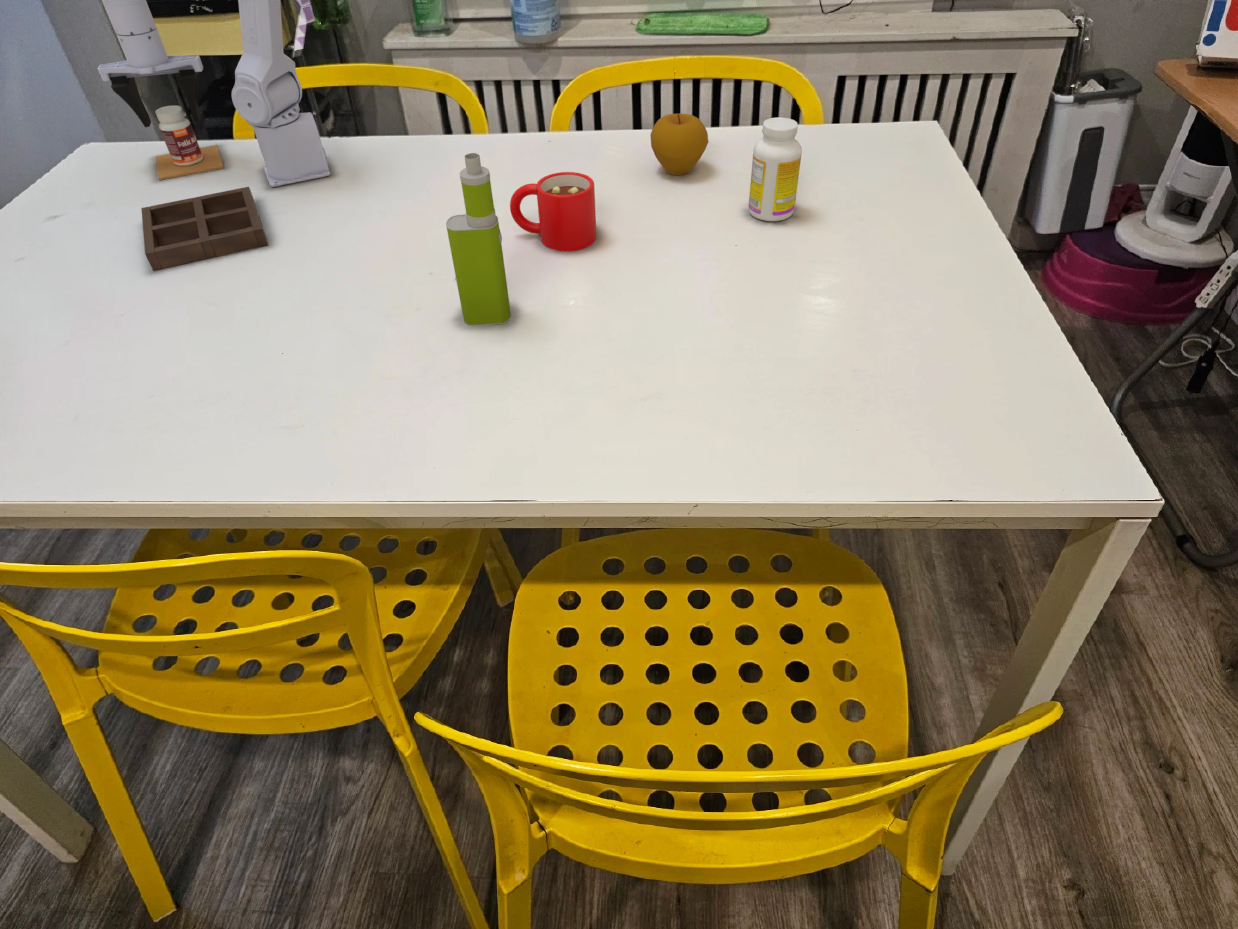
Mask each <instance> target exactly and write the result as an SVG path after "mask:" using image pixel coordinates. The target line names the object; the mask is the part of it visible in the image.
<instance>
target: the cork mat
mask: <svg viewBox="0 0 1238 929" xmlns="http://www.w3.org/2000/svg"><path fill="white" fill-rule="evenodd" d="M200 150H201V153H202V155H203V159H202V161H200V162H198V163H196V164H193V165H189V166H179V165H176V164H174V162H173V160H172V158H171V155H170V153H166V154H161V155H156V156H155V161H156V169H157V177H158V180H159V181H165V180H171V179H175V178H180V177H184V176H190V175H195V174H200V173H207V172H210V171H216V170H222V169H224V168H225V167H224V163H223V160H222V157H221V153H220V152H221V151H220V149H219V145H218V144H215V145H210V146H203V147H200Z"/></svg>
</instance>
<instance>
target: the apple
mask: <svg viewBox="0 0 1238 929" xmlns="http://www.w3.org/2000/svg"><path fill="white" fill-rule="evenodd" d="M649 136H650V146H651V149H652V151H653V154H654V156H655V158H656V160H657V161H658V163H659V164H660V166H661V167H662V168H663V170H664V171H665V172H666V173H667V174H670V175H673V176H684V175H686V174H688V173H690V172H691V171H692V170H693V168H694V167H695V166H696V165H697V163H698V162H699V161H700V159H701V158H702V156H703V155H704V152H706V149H707V147H708V143H709V134H708V131H707V128H706V126H705V124H704V123H703V122H702V121H701V119H699V118H698V117H697V116H695V115H692V114H689V113H669V114H665V115H663V116H661V117H660V118H659V119H658V120H657V121H656V123H655V124H654V125H653V127H652V129H651V132H650V135H649Z"/></svg>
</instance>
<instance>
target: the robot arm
mask: <svg viewBox="0 0 1238 929" xmlns="http://www.w3.org/2000/svg"><path fill="white" fill-rule="evenodd" d="M237 2H238V11H239V22H240V23H239V24H240V32H241V34H240V35H241V42H242V43H241V44H242V54H241V57H240V59H239V61H238V63H237V66H236V68H235V70H234V79H235V81H234V85H233V88H232V89H231V100H232V105H233V107H234V108H235V110H236V112H237V113H238V115H239V116H240V117H241V118H242V119H243V120H244V121H246V122H247V123H248V125H249V126H250V127H252V129H253V131H254V134H255V138H256V141H257V144H258V147H259V150H260V153H261V156H262V158H263V161H264V164H265V166H264V167H263V170H264V173H265V176H266V179H267V181H268V183H269V186H270V187H271V188H275V187H279V186H285V185H290V184H293V183H299V182H304V181H310V180H315V179H319V178H320V179H321V178H324V177H329V176H331V171H330V168H329V164H328V161H327V160H328V157H327V152H326V149H325V148H324V147H323V143H322V140H321V136H320V133H319V130H318V126H317V124H316V121H315V118H314V116H313V113H312V112H300V111H301V108H300V106H299V104H300V102H301V100H302V98H303V88H302V84H301V81H300V80H299V77H298V75H297V71H296V62H295V61H294V60H293V59H292V58H290V57H289V56H288V55H286V54H285V53H284V36H283V22H282V4H281V0H237ZM101 3H102V5H103V7H104V9H105V12H106V14H107V16H108V19H109V22H110V24H111V26H112V29H113V31H114V34H115V35H116V37H117V39H118V43H119V44H120V47H121V49H122V51H123V54H124V56H125V59H126V60H125V59H124V60H121V61H116V62H115V61H114V62H110V63H102V64H99V65H98V67H97V71H98V73H99V76H100V78H101V80H102V82H104V83H105V82H110V83H111V85H110V88H111V89H112V91H113V92H114V93H115V94H116V95H117V96H119V98H120V99H122V100H123V101H124V102H125V103H126V105H128V106H129V107H130V109H131V110H132V111H133V112H134V114H135V115H136V116H137V118H138V119H139V120H140V122H141V124H142V125H143V127H144V128H150V127H151V124H152V120H151V117H150V114H149V113H148V110H147V109H146V108H147V107H146V106H145V104H144V102H143V100H142V97H141V94H140V91H139V88H138V85H137V82H136V79H135V78H138V77H139V78H140V77H150V76H160V75H169V74H179V75H178V76H177V78H176V79H177V80H176V81H177V82H178V85H179V86H180V89H181V90H182V92H183V94H184V97H185V99H186V101H187V104H188V106H189V111H190V114H191V117H192V118H193V120H194V122H197V123H198V122H200V121H201V118H202V116H201V112H200V105H199V96H198V94H199V93H198V85H199V84H198V83H199V81H198V80H199V73H201V72H203V70H204V66H203V63H202V60H201V57H200V55H199V54H196V55H195V54H193V55H169V54H167V51H166V49H165V48H166V47H165V46H164V43H163V41H162V38H161V35H160V33H159V30H158V28H157V25H156V23H155V20H154V18H153V15H152V12H151V10H150V8H149V5H148V2H147V0H101Z"/></svg>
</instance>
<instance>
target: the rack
mask: <svg viewBox="0 0 1238 929" xmlns="http://www.w3.org/2000/svg"><path fill="white" fill-rule="evenodd" d="M140 210H141V220H142V221H141V222H142V232H143V244H144V245H143V246H144V255H145V257H146V259H147V262H148V263H149V265H150V267H151V269H152V271H159V270H162V269H167V268H172V267H176V266H181V265H185V264H190V263H195V262H198V261H203V260H208V259H212V258H216V257H221V256H225V255H231V254H234V253H240V252H243V251H248V250H252V249H258V248H262V247H267V246H269V242H268V239H267V237H266V234H265V230H264V226H263V223H262V221H261V218H260V215H259V211H258V208H257V205H256V201H255V198H254V196H253V194H252V191H251V188H250V186H245V187H244V186H243V187H239V188H235V189H234V188H233V189H230V190H224V191H220V192H215V193H209V194H205V195H200V196H195V197H190V198H185V199H181V200H175V201H169V202H164V203H160V204H154V205H150V206H146V207H141V209H140Z"/></svg>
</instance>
